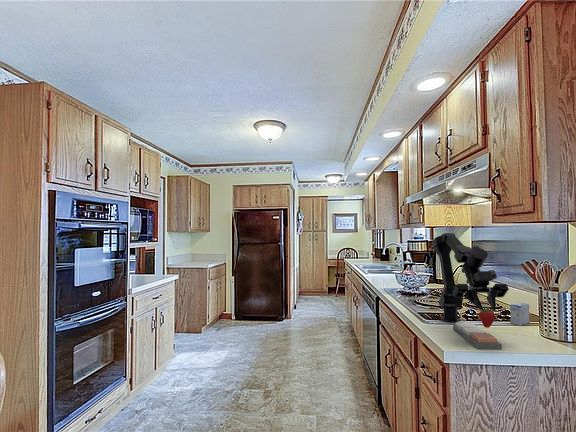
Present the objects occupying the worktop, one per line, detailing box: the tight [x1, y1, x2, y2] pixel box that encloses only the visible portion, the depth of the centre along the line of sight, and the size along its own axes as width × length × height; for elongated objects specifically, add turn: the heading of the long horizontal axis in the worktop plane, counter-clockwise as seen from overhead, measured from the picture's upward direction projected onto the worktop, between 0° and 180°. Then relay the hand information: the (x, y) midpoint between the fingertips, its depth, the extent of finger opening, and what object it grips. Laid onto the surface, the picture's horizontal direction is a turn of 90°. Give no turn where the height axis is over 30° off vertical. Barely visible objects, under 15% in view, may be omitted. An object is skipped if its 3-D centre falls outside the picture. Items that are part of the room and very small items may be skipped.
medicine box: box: [509, 301, 530, 326], centre depth 158 cm, size 8×4×9 cm, turn 123°
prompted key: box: [471, 332, 498, 343], centre depth 131 cm, size 6×6×2 cm
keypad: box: [452, 321, 503, 350], centre depth 138 cm, size 22×8×3 cm, turn 175°
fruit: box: [478, 305, 496, 329], centre depth 131 cm, size 5×5×8 cm
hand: (488, 310), depth 130 cm, fingers closed on fruit, 4 cm apart
